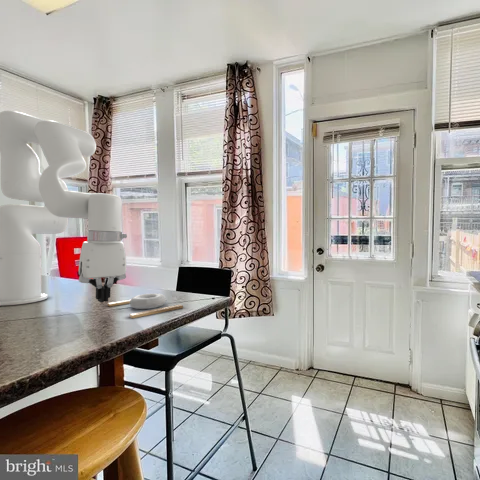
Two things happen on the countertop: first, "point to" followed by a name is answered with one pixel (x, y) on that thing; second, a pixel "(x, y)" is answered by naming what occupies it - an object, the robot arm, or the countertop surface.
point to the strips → (145, 311)
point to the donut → (147, 301)
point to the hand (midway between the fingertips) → (102, 301)
